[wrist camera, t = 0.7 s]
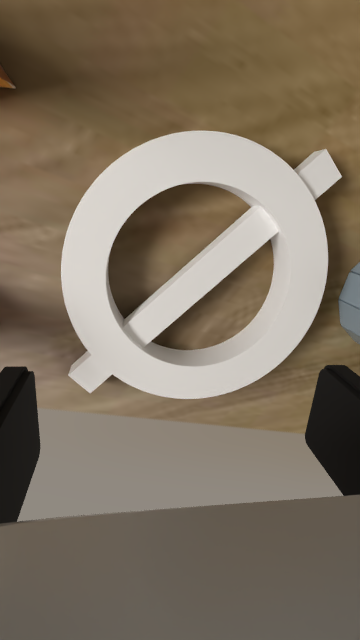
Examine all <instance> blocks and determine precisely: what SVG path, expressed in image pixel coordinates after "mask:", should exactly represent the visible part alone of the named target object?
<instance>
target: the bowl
mask: <svg viewBox="0 0 360 640" xmlns="http://www.w3.org/2000/svg"><path fill="white" fill-rule="evenodd" d="M338 301H339V312H340V323H341V326H342V327H343V328H344V329H345V330H346V332H347V333H348V334H349V335H350V336H351V337H352V339H353V340H354V341H355V342H357V343H358V344H360V262H359V263H358V264H357V265H356V266H355V267H354V268H353V269H352V270H351V272H349V275H348V277H347V279H346V282H345V284H344V287H343V289H342V291H341V294H340V296H339V300H338Z"/></svg>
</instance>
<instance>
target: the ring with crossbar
mask: <svg viewBox="0 0 360 640" xmlns="http://www.w3.org/2000/svg"><path fill="white" fill-rule="evenodd" d="M341 177H342V176H341V174H340V172H339V171H338V169H337V167H336V165H335V164H334V162H333V160H332V158H331V157H330V155H329V153H328V151H327V150H326V149H324V150H320V151H316V152H313V153H312V154H311V155H310V156H309V157H308V158H306V159H305V160H304V161H303V162H302V163H301V164H300V165H299V166H297V167H296V168H295V169H294V170H293V169H292V168H291V167H290V166H289V165H288V164H287V163H286V162H285V161H283V160H282V159H281V158H280V157H279V156H277V155H276V154H274V153H273V152H272V151H270V150H268V149H267V148H265V147H263V146H261V145H259V144H257V143H255V142H253V141H251V140H248V139H246V138H243V137H240V136H236V135H232V134H228V133H223V132H216V131H187V132H180V133H174V134H170V135H166V136H162V137H159V138H156V139H153V140H151V141H148V142H146V143H144V144H142V145H140V146H138V147H136V148H134V149H132V150H130V151H129V152H127V153H126V154H124V155H123V156H121V157H120V158H119V159H117V160H116V161H115V162H113V163H112V164H111V165H110V166H109V167H108V168H107V169H106V170H104V171H103V173H102V174H101V175H100V176H99V177H98V178H97V179H96V180H95V181H94V182H93V184H92V185H91V186H90V187H89V189H88V190H87V192H86V193H85V195H84V196H83V198H82V199H81V201H80V203H79V204H78V206H77V208H76V210H75V212H74V214H73V217H72V219H71V222H70V224H69V227H68V230H67V234H66V238H65V242H64V246H63V252H62V262H61V280H62V290H63V296H64V301H65V305H66V309H67V312H68V315H69V317H70V320H71V323H72V325H73V327H74V329H75V331H76V333H77V335H78V337H79V338H80V340H81V341H82V343H83V345H84V346H85V347H86V349H87V350H88V351H87V352H86V353H85V354H84V355H82V356H81V357H80V358H79V359H78V360H77V361H76V362H75V363H73V364H72V366H71V369H70V372H69V376H70V377H71V378H72V379H73V380H75V381H76V382H77V383H78V384H79V385H81V386H82V387H83V388H84V389H85V390H87V391H88V392H89V393H91V392H92V391H93V390H95V389H96V388H97V387H98V386H99V385H100V384H102V383H103V382H104V381H105V380H106V379H107V378H109V377H110V376H111V375H112V374H113V375H114V376H115V377H117V378H118V379H120V380H122V381H123V382H125V383H127V384H129V385H131V386H133V387H135V388H137V389H140V390H142V391H145V392H148V393H151V394H155V395H159V396H164V397H170V398H179V399H197V398H207V397H213V396H218V395H222V394H225V393H229V392H232V391H235V390H237V389H240V388H242V387H244V386H247V385H249V384H251V383H252V382H254V381H256V380H258V379H260V378H261V377H263V376H264V375H266V374H267V373H269V372H270V371H271V370H273V369H274V368H275V367H276V366H278V365H279V364H280V363H281V362H282V361H283V360H284V359H285V358H286V357H287V356H288V355H289V354H290V353H291V352H292V351H293V350H294V349H295V347H296V346H297V345H298V344H299V342H300V341H301V340H302V338H303V337H304V335H305V334H306V332H307V331H308V329H309V327H310V325H311V324H312V322H313V320H314V318H315V315H316V313H317V311H318V308H319V306H320V303H321V300H322V296H323V293H324V289H325V284H326V278H327V270H328V246H327V238H326V232H325V228H324V224H323V220H322V217H321V214H320V211H319V209H318V207H317V204H316V202H315V200H316V199H317V198H318V197H319V196H320V195H321V194H323V193H324V192H325V191H326V190H327V189H328V188H330V187H331V186H332V185H333V184H334V183H335V182H337V181H338V180H339V179H340V178H341ZM182 184H207V185H212V186H216V187H220V188H222V189H225V190H227V191H230V192H231V193H233V194H235V195H237V196H238V197H240V198H241V199H243V200H244V201H245V202H246V203H247V204H249V205H250V206H251V208H250V209H249V210H248V211H247V212H246V213H245V214H243V215H242V216H241V217H240V218H239V219H238V220H237V221H235V222H234V223H233V224H232V225H231V226H230V227H229V228H228V229H226V230H225V231H224V232H223V233H222V234H221V235H220V236H218V237H217V238H216V239H215V240H214V241H213V242H212V243H210V244H209V245H208V246H207V247H206V248H205V249H204V250H203V251H201V252H200V253H199V254H198V255H197V256H196V257H195V258H193V259H192V260H191V261H190V262H189V263H188V264H187V265H186V266H184V267H183V268H182V269H181V270H180V271H179V272H178V273H176V274H175V275H174V276H173V277H172V278H171V279H170V280H168V281H167V282H166V283H165V284H164V285H163V286H162V287H161V288H159V289H158V290H157V291H156V292H155V293H154V294H153V295H151V296H150V297H149V298H148V299H147V300H146V301H145V302H144V303H142V304H141V305H140V306H139V307H138V308H137V309H136V310H134V311H133V312H132V313H131V314H130V315H129V316H128V317H126V318H125V319H124V318H123V317H122V315H121V313H120V312H119V310H118V308H117V306H116V304H115V302H114V299H113V297H112V293H111V290H110V285H109V277H108V264H109V256H110V251H111V247H112V244H113V242H114V240H115V237H116V235H117V234H118V232H119V230H120V228H121V227H122V225H123V224H124V223H125V221H126V220H127V219H128V217H129V216H130V215H131V214H132V213H133V212H134V211H135V210H136V209H137V208H138V207H139V206H140V205H141V204H142V203H144V202H145V201H146V200H148V199H149V198H151V197H152V196H154V195H156V194H158V193H159V192H161V191H164V190H166V189H168V188H171V187H174V186H177V185H182ZM269 239H270V240H271V244H272V248H273V255H274V272H273V279H272V283H271V287H270V290H269V293H268V296H267V298H266V300H265V302H264V304H263V306H262V308H261V309H260V311H259V312H258V314H257V315H256V317H255V318H254V319H253V320H252V321H251V322H250V323H249V324H248V325H247V326H246V327H245V328H244V329H243V330H242V331H241V332H239V333H238V334H237V335H235V336H234V337H232V338H230V339H229V340H227V341H225V342H223V343H220V344H218V345H215V346H212V347H209V348H205V349H199V350H177V349H171V348H167V347H163V346H160V345H158V344H155V343H153V342H151V341H152V340H153V339H154V338H155V337H156V336H157V335H159V334H160V333H161V332H162V331H163V330H164V329H166V328H167V327H168V326H169V325H170V324H171V323H173V322H174V321H175V320H176V319H177V318H178V317H180V316H181V315H182V314H183V313H184V312H185V311H187V310H188V309H189V308H190V307H191V306H192V305H194V304H195V303H196V302H197V301H198V300H199V299H200V298H202V297H203V296H204V295H205V294H206V293H207V292H209V291H210V290H211V289H212V288H213V287H214V286H216V285H217V284H218V283H219V282H220V281H221V280H223V279H224V278H225V277H226V276H227V275H228V274H230V273H231V272H232V271H233V270H234V269H235V268H237V267H238V266H239V265H240V264H241V263H242V262H244V261H245V260H246V259H247V258H248V257H249V256H251V255H252V254H253V253H254V252H255V251H256V250H257V249H259V248H260V247H261V246H262V245H263V244H264V243H266V242H267V241H268V240H269Z"/></svg>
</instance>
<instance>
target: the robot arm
mask: <svg viewBox="0 0 360 640" xmlns="http://www.w3.org/2000/svg"><path fill="white" fill-rule="evenodd" d="M305 439H306V443H307V445H308V447H309V448H310V449H311V451H312V452H313V454H314V455H315V456H316V458H317V459H318V461H319V462H320V463H321V465H322V466H323V467H324V469H325V470H326V472H327V473H328V474H329V476H330V477H331V479H332V480H333V481H334V483H335V484H336V485H337V487H338V488H339V490H340V491H341V492H342V494H343V495H344V496H336V497H322V498H308V499H294V500H281V501H267V502H253V503H239V504H225V505H211V506H198V507H183V508H170V509H157V510H144V511H131V512H118V513H105V514H93V515H81V516H67V517H56V518H47V519H38V520H29V521H20V522H17V519H18V516H19V513H20V510H21V507H22V505H23V502H24V499H25V496H26V493H27V490H28V487H29V484H30V481H31V478H32V475H33V473H34V470H35V467H36V464H37V461H38V458H39V454H40V436H39V424H38V413H37V401H36V389H35V377H34V372H33V371H28V370H27V368H26V367H5V368H4V369H3V370H2V371H1V373H0V640H360V376H358V375H357V374H356V373H354V372H353V371H352V370H351V369H349V368H348V367H347V366H345V365H327V366H325V368H324V369H322V370H321V371H320V373H319V377H318V381H317V385H316V390H315V394H314V398H313V403H312V407H311V411H310V416H309V420H308V424H307V428H306V433H305Z"/></svg>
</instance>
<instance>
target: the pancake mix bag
mask: <svg viewBox="0 0 360 640" xmlns="http://www.w3.org/2000/svg"><path fill="white" fill-rule="evenodd" d="M0 87H5V88H16V87H15V86H14V84H13V83H12V81H11V80H10V79H9V77H8V76H7V74H6V73H5V71H4V69H3V68H2V66H1V64H0Z"/></svg>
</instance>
